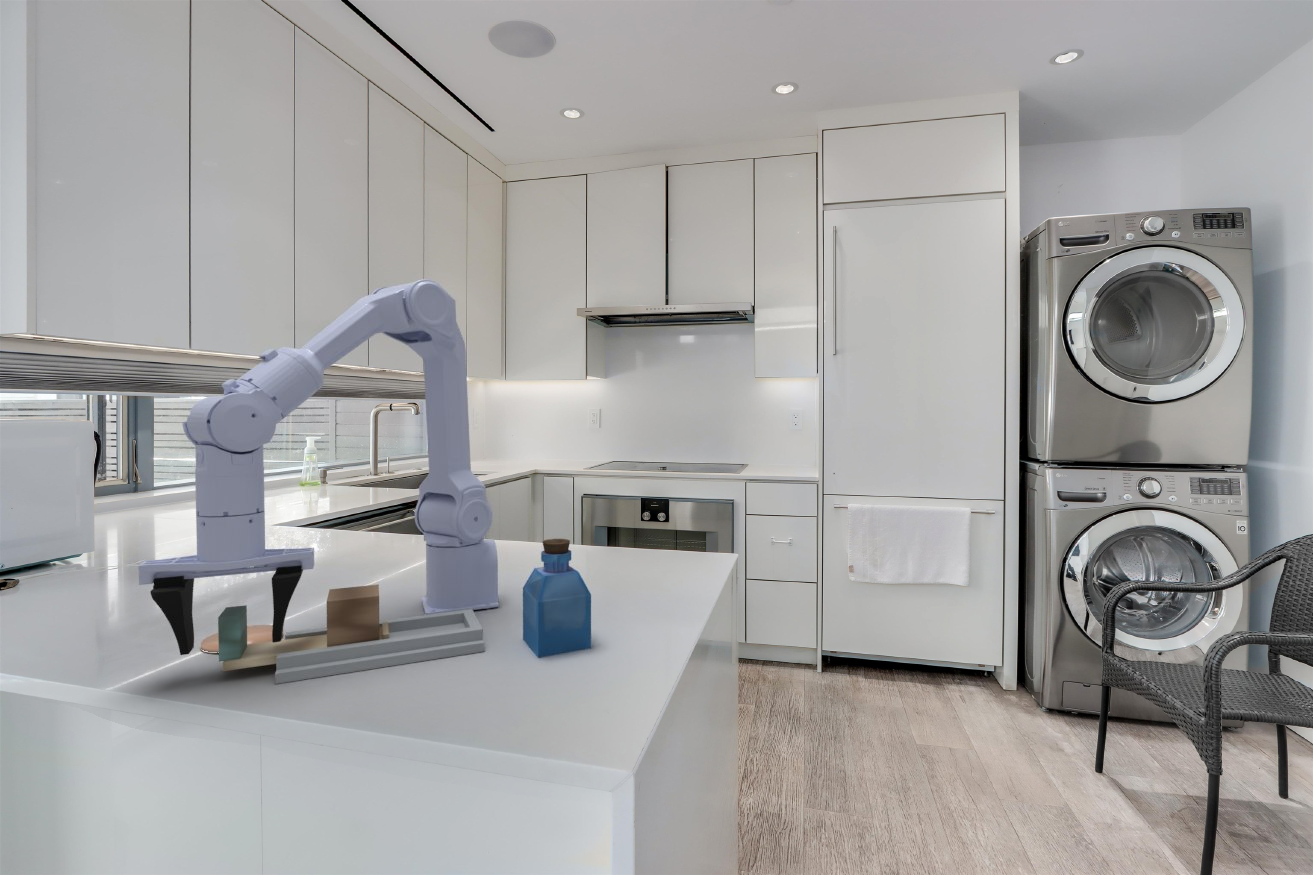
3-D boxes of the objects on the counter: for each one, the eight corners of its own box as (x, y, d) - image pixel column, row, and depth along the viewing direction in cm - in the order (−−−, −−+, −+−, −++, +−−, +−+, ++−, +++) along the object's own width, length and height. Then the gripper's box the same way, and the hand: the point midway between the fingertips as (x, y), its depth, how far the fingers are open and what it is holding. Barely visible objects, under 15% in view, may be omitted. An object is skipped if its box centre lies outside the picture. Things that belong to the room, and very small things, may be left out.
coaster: (287, 625, 76) (287, 621, 76) (278, 646, 69) (278, 642, 69) (209, 634, 73) (209, 630, 73) (192, 658, 66) (192, 654, 66)
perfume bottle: (537, 658, 66) (537, 548, 66) (523, 639, 72) (522, 538, 71) (591, 648, 69) (591, 543, 69) (572, 631, 75) (572, 534, 74)
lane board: (471, 623, 77) (470, 606, 77) (484, 651, 68) (484, 631, 68) (287, 648, 68) (287, 629, 68) (275, 683, 59) (274, 661, 59)
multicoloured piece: (387, 633, 70) (387, 588, 70) (388, 647, 66) (388, 600, 66) (228, 654, 64) (227, 605, 64) (217, 671, 60) (216, 619, 59)
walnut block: (379, 627, 70) (378, 584, 70) (379, 641, 66) (379, 595, 65) (330, 633, 68) (329, 589, 68) (327, 648, 63) (326, 601, 63)
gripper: (315, 503, 68) (317, 622, 69) (153, 511, 62) (155, 643, 62) (311, 512, 62) (312, 643, 63) (129, 522, 56) (133, 668, 56)
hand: (233, 644), depth 62 cm, fingers open, 7 cm apart
